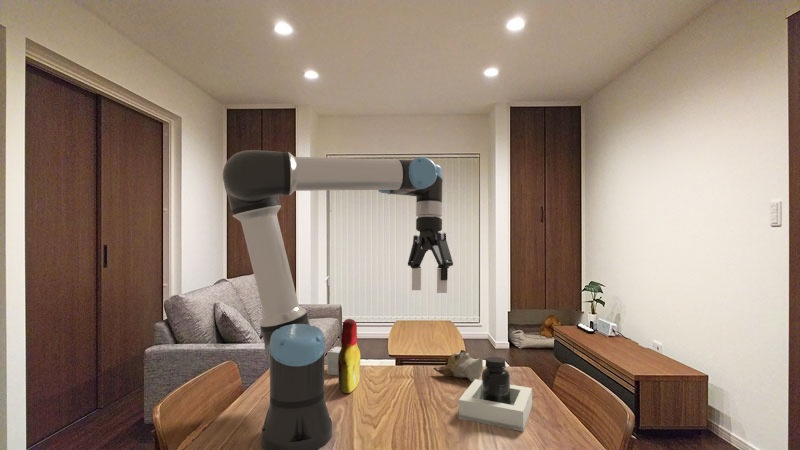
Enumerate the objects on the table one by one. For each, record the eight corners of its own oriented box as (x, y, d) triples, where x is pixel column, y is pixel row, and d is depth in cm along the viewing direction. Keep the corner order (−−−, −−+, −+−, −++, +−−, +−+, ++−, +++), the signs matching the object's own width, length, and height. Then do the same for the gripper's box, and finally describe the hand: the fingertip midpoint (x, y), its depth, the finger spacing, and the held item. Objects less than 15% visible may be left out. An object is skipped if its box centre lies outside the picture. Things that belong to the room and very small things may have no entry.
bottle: (356, 397, 107) (356, 323, 108) (333, 396, 108) (333, 323, 108) (362, 380, 119) (362, 314, 120) (342, 380, 120) (342, 314, 120)
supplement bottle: (507, 402, 101) (507, 355, 101) (512, 414, 94) (512, 364, 95) (480, 401, 102) (480, 354, 102) (484, 413, 95) (483, 363, 95)
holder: (458, 418, 94) (458, 399, 95) (475, 395, 108) (475, 379, 108) (523, 431, 88) (523, 411, 88) (532, 405, 101) (531, 388, 101)
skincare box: (352, 370, 129) (352, 347, 129) (343, 376, 123) (343, 353, 123) (336, 368, 131) (336, 346, 131) (326, 374, 125) (326, 351, 125)
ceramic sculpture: (472, 357, 114) (431, 350, 124) (473, 387, 113) (432, 378, 123) (490, 349, 122) (450, 343, 132) (492, 378, 121) (452, 370, 131)
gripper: (466, 213, 105) (466, 293, 102) (418, 222, 126) (417, 289, 124) (442, 211, 101) (442, 294, 99) (397, 221, 123) (396, 289, 120)
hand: (428, 291), depth 111 cm, fingers open, 13 cm apart
